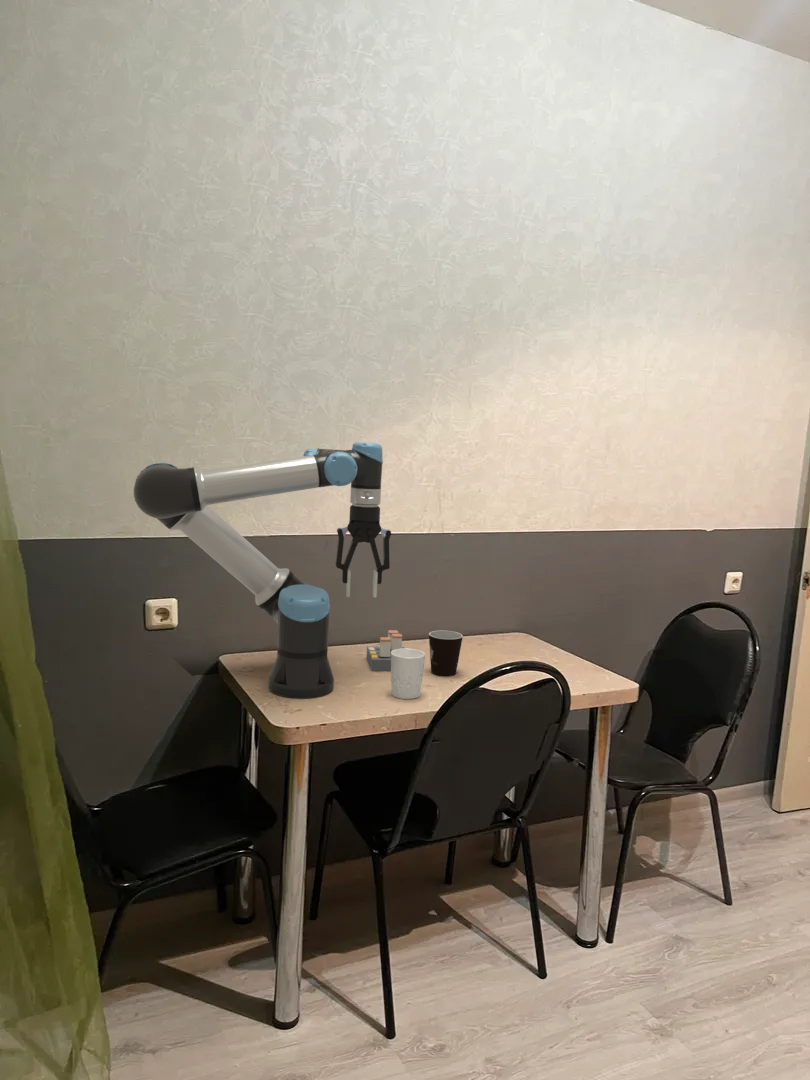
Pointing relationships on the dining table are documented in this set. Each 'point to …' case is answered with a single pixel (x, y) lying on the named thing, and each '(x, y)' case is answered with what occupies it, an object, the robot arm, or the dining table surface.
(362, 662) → the dining table surface
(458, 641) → the coffee mug
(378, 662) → the grey slotted tray
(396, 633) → the slider
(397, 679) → the white cup
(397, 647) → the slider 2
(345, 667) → the dining table surface
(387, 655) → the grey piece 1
